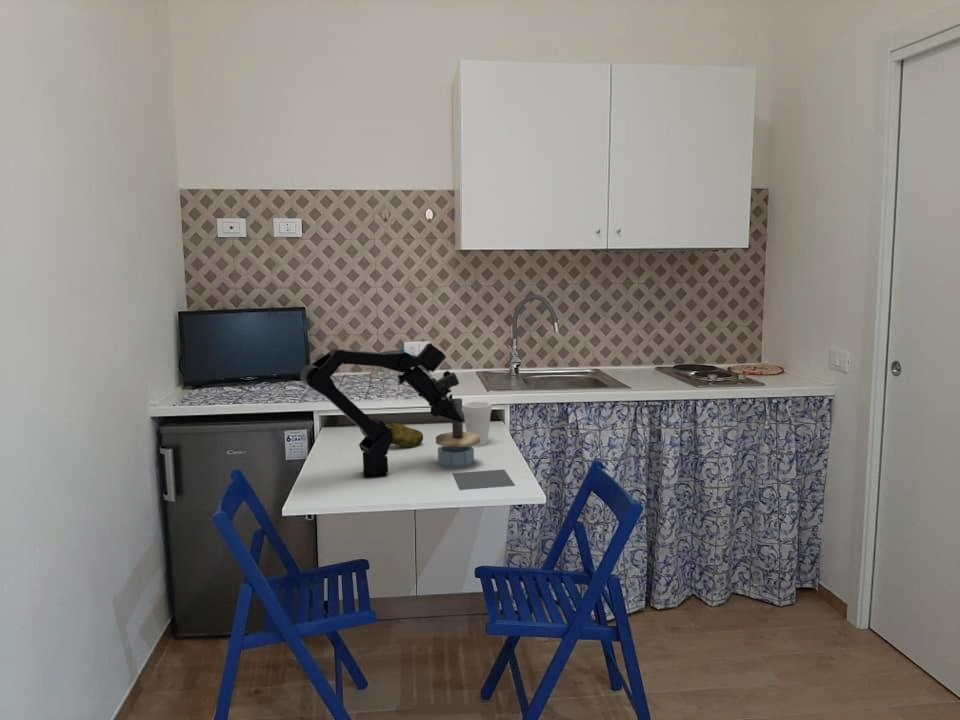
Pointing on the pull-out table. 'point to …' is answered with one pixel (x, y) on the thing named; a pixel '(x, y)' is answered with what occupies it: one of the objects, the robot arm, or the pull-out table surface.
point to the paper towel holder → (457, 432)
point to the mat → (482, 479)
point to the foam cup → (477, 419)
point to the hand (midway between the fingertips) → (462, 420)
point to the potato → (405, 435)
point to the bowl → (455, 456)
